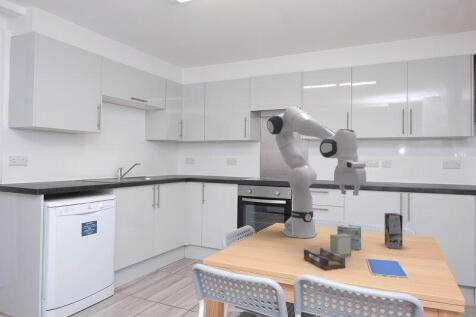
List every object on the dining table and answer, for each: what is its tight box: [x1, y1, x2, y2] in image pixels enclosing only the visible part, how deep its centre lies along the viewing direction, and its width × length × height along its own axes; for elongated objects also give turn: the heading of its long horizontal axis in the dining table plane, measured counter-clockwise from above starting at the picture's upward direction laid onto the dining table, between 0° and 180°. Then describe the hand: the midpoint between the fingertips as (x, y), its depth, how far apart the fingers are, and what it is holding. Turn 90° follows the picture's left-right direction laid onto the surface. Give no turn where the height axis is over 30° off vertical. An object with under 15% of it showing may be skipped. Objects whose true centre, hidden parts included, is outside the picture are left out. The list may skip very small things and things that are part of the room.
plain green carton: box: [329, 233, 352, 258], centre depth 145 cm, size 5×8×9 cm, turn 111°
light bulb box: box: [336, 223, 362, 251], centre depth 159 cm, size 11×7×11 cm, turn 65°
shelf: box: [303, 247, 346, 271], centre depth 134 cm, size 16×9×4 cm, turn 20°
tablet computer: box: [366, 258, 409, 279], centre depth 127 cm, size 19×13×1 cm, turn 164°
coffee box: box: [384, 212, 404, 250], centre depth 161 cm, size 9×6×16 cm
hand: (349, 194), depth 146 cm, fingers open, 8 cm apart
